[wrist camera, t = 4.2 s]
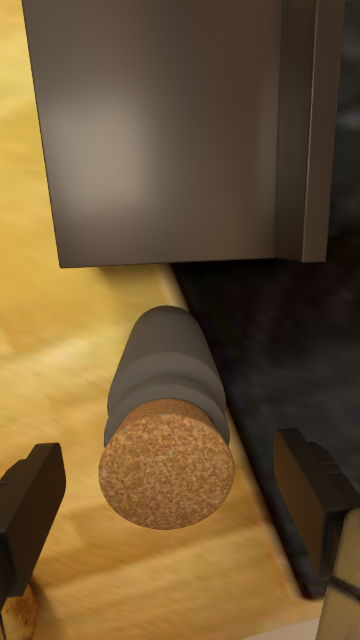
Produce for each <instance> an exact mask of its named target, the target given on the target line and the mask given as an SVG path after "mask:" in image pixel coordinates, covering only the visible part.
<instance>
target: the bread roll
mask: <svg viewBox="0 0 360 640" xmlns="http://www.w3.org/2000/svg"><path fill="white" fill-rule="evenodd" d="M38 608H39V607H38V603H37V600H36V597H35V596H34V592H33V590H32V588H31V586H30V585H29V583H28V585H27V587H26V590H25V592H24V595H23V597H10V598H7V600H6V602H5V604H4V607H3V609H2V611H1V613H2V617H3V622H4V626H5V631H6V636H7V640H31V639H32V638H33V635H34V628H35V625H36V618H37V611H38Z"/></svg>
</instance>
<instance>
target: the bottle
mask: <svg viewBox="0 0 360 640" xmlns="http://www.w3.org/2000/svg"><path fill="white" fill-rule="evenodd" d="M107 409H108V416H109V417H108V420H107V423H106V427H105V431H104V448H105V449H104V451H103V453H102V456H101V460H100V464H99V483H100V487H101V490H102V492H103V495H104V497H105V499H106V501H107V502H108V503H109V505H110V506H111V507H112V508H113V509H114V510H115V511H116V512H117V513H118V514H119V515H120V516H122V517H123V518H125V519H127V520H128V521H130V522H132V523H134V524H137V525H139V526H143V527H147V528H152V529H159V530H170V529H178V528H183V527H187V526H190V525H193V524H196V523H198V522H200V521H201V520H203V519H205V518H207V517H208V516H210V515H211V514H212V513H214V512H215V511H216V510H217V509H218V508H219V507H220V506H221V505H222V503H223V502H224V501H225V499H226V497H227V495H228V494H229V492H230V490H231V487H232V484H233V480H234V461H233V457H232V454H231V451H230V449H229V440H230V433H229V428H228V423H227V419H226V416H225V412H226V398H225V393H224V388H223V385H222V382H221V379H220V376H219V374H218V371H217V368H216V365H215V363H214V360H213V358H212V355H211V352H210V350H209V347H208V345H207V342H206V339H205V337H204V335H203V332H202V330H201V328H200V325H199V324H198V322H197V321H196V319H195V318H194V317H193V316H192V315H191V314H190V313H189V312H187V311H185V310H184V309H181V308H179V307H175V306H159V307H155V308H152V309H150V310H148V311H147V312H145V313H144V314H143V315H142V316H141V317H140V318H139V319H138V320H137V322H136V323H135V325H134V327H133V329H132V332H131V334H130V336H129V339H128V341H127V344H126V347H125V349H124V352H123V354H122V357H121V360H120V362H119V365H118V368H117V370H116V373H115V376H114V379H113V381H112V384H111V387H110V391H109V395H108V403H107Z"/></svg>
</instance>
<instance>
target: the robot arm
mask: <svg viewBox="0 0 360 640" xmlns="http://www.w3.org/2000/svg"><path fill="white" fill-rule="evenodd" d="M274 472H275V477H276V480H277V483H278V486H279V488H280V490H281V492H282V495H283V497H284V499H285V502H286V504H287V506H288V508H289V511H290V513H291V515H292V517H293V520H294V522H295V524H296V526H297V529H298V531H299V533H300V535H301V538H302V540H303V542H304V545H305V547H306V549H307V551H308V554H309V556H310V558H311V560H312V563H313V565H314V567H315V569H316V572H317V574H318V576H319V577H324V576H332V578H331V577H330V579H329V582H328V586H327V590H326V595H325V599H324V604H323V608H322V613H321V617H320V621H319V626H318V631H317V635H316V639H315V640H360V495H359V494H358V492H357V491H356V490H355V488H354V487H353V486H352V484H351V483H350V481H349V480H348V479H347V477H346V476H345V475H344V474H342V471H341V469H340V468H339V467H338V465H337V464H335V461H334V460H333V459H332V457H331V456H330V455H329V453H328V452H327V451H326V450H325V449H323V448H322V447H321V446H319V445H318V444H316V443H315V442H307V441H306V440H305V439H304V437H303V436H302V434H301V433H300V431H299V430H298V429H297V428H295V429H278V430H276V432H275V447H274ZM65 489H66V475H65V469H64V463H63V457H62V451H61V446H60V444H59V443H42V444H36V445H35V446H34V448H33V449H32V451H31V452H30V454H29V455H28V457H27V458H26V459H22V460H19V461H18V462H17V463H15V464H14V465H13V466H12V467H11V468H9V469H8V470H7V471H6V473H5V474H4V475H3V477H2V478H1V480H0V640H7V636H6V631H5V626H4V622H3V617H2V613H1V611H2V609H3V607H4V604H5V602H6V600H7V598H10V597H23V595H24V592H25V590H26V587H27V585H28V582H29V580H30V577H31V575H32V573H33V570H34V568H35V565H36V563H37V560H38V558H39V556H40V553H41V551H42V548H43V546H44V543H45V541H46V538H47V536H48V534H49V531H50V529H51V526H52V524H53V521H54V519H55V516H56V514H57V512H58V509H59V507H60V504H61V502H62V499H63V497H64V494H65Z"/></svg>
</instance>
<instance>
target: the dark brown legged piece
mask: <svg viewBox="0 0 360 640" xmlns="http://www.w3.org/2000/svg"><path fill="white" fill-rule="evenodd" d="M22 7H23V14H24V21H25V28H26V35H27V42H28V49H29V56H30V63H31V70H32V77H33V84H34V91H35V98H36V105H37V112H38V119H39V126H40V133H41V140H42V147H43V154H44V161H45V168H46V175H47V182H48V189H49V196H50V203H51V210H52V217H53V224H54V231H55V238H56V245H57V252H58V259H59V266H60V268H82V267H102V266H122V265H143V264H163V263H184V262H204V261H225V260H245V259H266V258H277V259H283V260H289V261H295V262H300V263H311V262H324V261H326V250H327V237H328V223H329V210H330V196H331V183H332V169H333V156H334V142H335V129H336V115H337V102H338V88H339V75H340V61H341V47H342V34H343V20H344V7H345V0H22Z"/></svg>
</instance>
